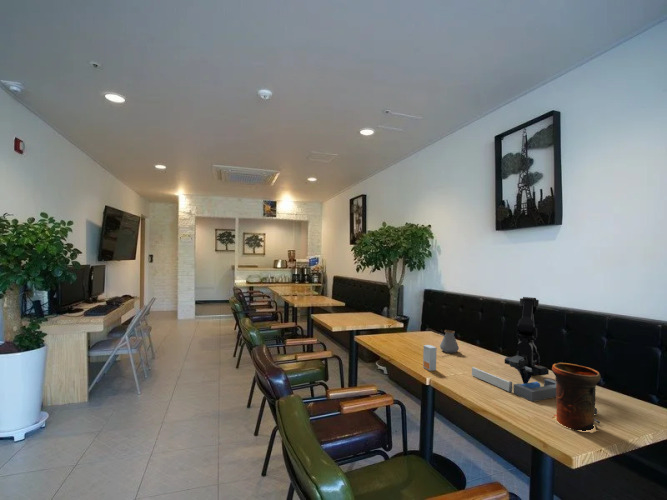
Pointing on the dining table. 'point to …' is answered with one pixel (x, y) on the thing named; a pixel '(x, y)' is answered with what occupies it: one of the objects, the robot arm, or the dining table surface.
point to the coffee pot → (448, 341)
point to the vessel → (575, 395)
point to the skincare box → (429, 357)
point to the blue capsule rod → (532, 384)
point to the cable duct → (537, 391)
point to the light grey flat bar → (492, 379)
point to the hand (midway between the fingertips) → (525, 384)
